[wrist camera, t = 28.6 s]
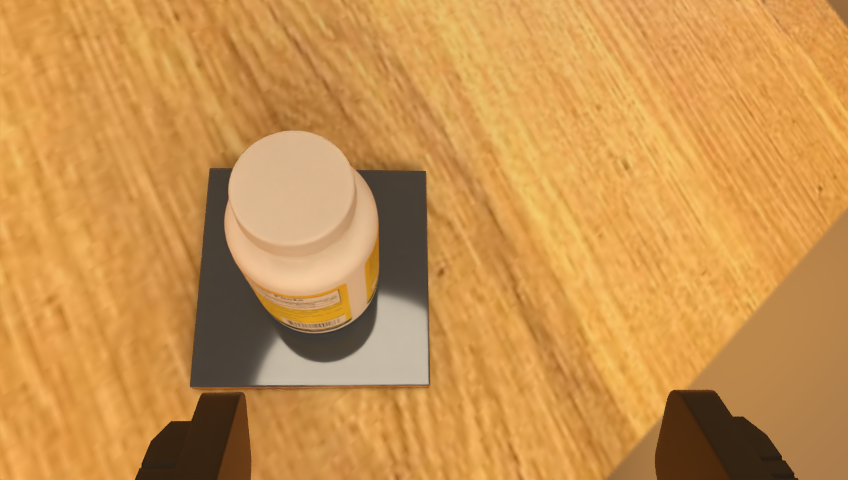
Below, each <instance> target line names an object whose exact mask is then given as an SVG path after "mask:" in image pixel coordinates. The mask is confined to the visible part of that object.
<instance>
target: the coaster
mask: <svg viewBox="0 0 848 480" xmlns="http://www.w3.org/2000/svg"><path fill="white" fill-rule="evenodd" d="M232 170H233V169H232V168H210V170H209V181H208V192H207V203H206V214H205V225H204V236H203V247H202V258H201V269H200V280H199V291H198V302H197V313H196V324H195V335H194V346H193V357H192V368H191V379H190V387H191V388H193V389H282V388H428V387H429V386H430V357H429V303H428V248H427V194H426V171H383V170H356V171H357V172H358V173H359V174H360V175H361V176H362V178H363V179H364V180H365V181H366V183H367V185H368V186H369V188H370V190H371V192H372V194H373V197H374V200H375V203H376V207H377V213H378V223H379V278H378V284H377V288H376V291H375V294H374V296H373V298H372V300H371V302H370V304H369V305H368V307H367V308H366V309H365V311H364V312H363V313H362V314H361V315H360V316H359V317H358V318H356V319H355V320H354V321H352V322H351V323H349V324H348V325H346V326H344V327H342V328H340V329H337V330H334V331H330V332H324V333H306V332H301V331H297V330H294V329H291V328H289V327H287V326H285V325H284V324H282V323H280V322H279V321H278V320H276V319H275V318H274V317H273V316H272V315H271V314H270V313H269V312H268V311H267V310H266V309H265V308H264V306H263V305H262V303H261V302H260V300H259V298H258V297H257V295H256V294H255V292H254V290H253V289H252V287H251V286H250V284H249V283H248V281H247V279H246V278H245V276H244V275H243V273H242V272H241V270H240V269H239V267H238V265H237V264H236V262H235V260H234V258H233V256H232V254H231V252H230V249H229V247H228V244H227V240H226V235H225V225H224V220H225V211H226V206H227V203H228V200H229V194H228V186H229V180H230V176H231V172H232Z"/></svg>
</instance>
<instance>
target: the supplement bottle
mask: <svg viewBox="0 0 848 480" xmlns="http://www.w3.org/2000/svg"><path fill="white" fill-rule="evenodd" d="M228 194H229V200H228V203H227V206H226V211H225V220H224V225H225V235H226V240H227V244H228V247H229V249H230V252H231V254H232V256H233V258H234V260H235V262H236V264H237V265H238V267H239V269H240V270H241V272H242V273H243V275H244V276H245V278H246V279H247V281H248V283H249V284H250V286H251V287H252V289H253V290H254V292H255V294H256V295H257V297H258V298H259V300H260V302H261V303H262V305H263V306H264V308H265V309H266V310H267V311H268V312H269V313H270V314H271V315H272V316H273V317H274V318H275V319H276V320H278V321H279V322H280V323H282V324H284V325H285V326H287V327H289V328H291V329H294V330H297V331H301V332H306V333H324V332H330V331H334V330H337V329H340V328H342V327H344V326H346V325H348V324H349V323H351V322H352V321H354V320H355V319H356V318H358V317H359V316H360V315H361V314H362V313H363V312H364V311H365V309H366V308H367V307H368V305H369V304H370V302H371V300H372V298H373V296H374V294H375V291H376V288H377V284H378V278H379V223H378V213H377V207H376V203H375V200H374V197H373V194H372V192H371V190H370V188H369V186H368V185H367V183H366V181H365V180H364V179H363V178H362V176H361V175H360V174H359V173H358V172H357V171H356V170H355V169H353V168H352V167H351V165H350V163H349V161H348V159H347V158H346V156H345V155H344V153H343V152H342V151H341V150H340V149H339V148H338V147H337V146H336V145H334V144H333V143H332V142H331V141H329V140H327V139H326V138H324V137H322V136H320V135H317V134H314V133H310V132H306V131H282V132H277V133H274V134H271V135H268V136H266V137H264V138H262V139H260V140H258V141H256V142H255V143H253V144H252V145H251V146H250V147H249V148H247V149H246V150H245V151H244V152H243V153H242V155H241V156H240V157H239V159H238V160H237V162H236V163H235V165H234V167H233V170H232V172H231V176H230V180H229V186H228Z"/></svg>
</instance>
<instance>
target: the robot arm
mask: <svg viewBox="0 0 848 480" xmlns="http://www.w3.org/2000/svg"><path fill="white" fill-rule="evenodd" d="M655 468H656V475H657V480H798V478H795V477H794V473H793V471H792V470H791V468H790V467H789V466H788V464H787V463H786V461H783V460H782V456H781V454H780V453H779V452H778V450H777V449H776V447H775V446H774V444H773V443H772V442H771V440H770V439H769V438H768V436H767V435H766V434H765V433H763V432H762V431H761V430H760V429H758V428H757V427H756V426H754V425H753V424H752V423H751V422H749V421H748V420H746V419H745V418H744V417H732V415H731V414H730V412H729V411H728V409H727V408H726V406H725V405H724V403H723V402H722V400H721V399H720V397H719V396H718V394H717V393H716V392H715V391H713V390H673V391H671V392H670V394H669V396H668V398H667V402H666V407H665V411H664V416H663V420H662V425H661V429H660V434H659V439H658V443H657V448H656V454H655ZM135 480H251V450H250V439H249V429H248V418H247V407H246V399H245V395H244V393H243V392H235V393H202V394H201V396H200V398H199V401H198V404H197V407H196V409H195V412H194V415H193V418H192V421H171V422H170V423H169V424H168V425H167V426H166V427H165V428H164V429H163V430H162V431H161V432H160V433H159V434H158V435H157V436H156V437H155V438H154V439H153V440H152V441H151V442H150V445H149V447H148V450H147V452H146V454H145V457H144V459H143V462H142V467H141V468H140V469H139V471H138V474H137V476H136V478H135Z"/></svg>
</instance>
